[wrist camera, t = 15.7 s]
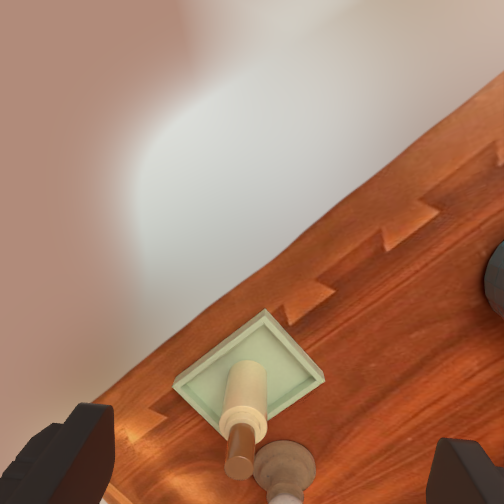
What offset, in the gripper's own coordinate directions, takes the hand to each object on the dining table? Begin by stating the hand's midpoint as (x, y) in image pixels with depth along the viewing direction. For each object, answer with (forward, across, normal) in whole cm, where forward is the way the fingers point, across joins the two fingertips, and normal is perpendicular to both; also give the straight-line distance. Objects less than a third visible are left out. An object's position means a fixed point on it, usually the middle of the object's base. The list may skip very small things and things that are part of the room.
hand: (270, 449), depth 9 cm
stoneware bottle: (+36, +1, +22) cm, 42 cm away
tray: (+36, +1, +22) cm, 42 cm away
